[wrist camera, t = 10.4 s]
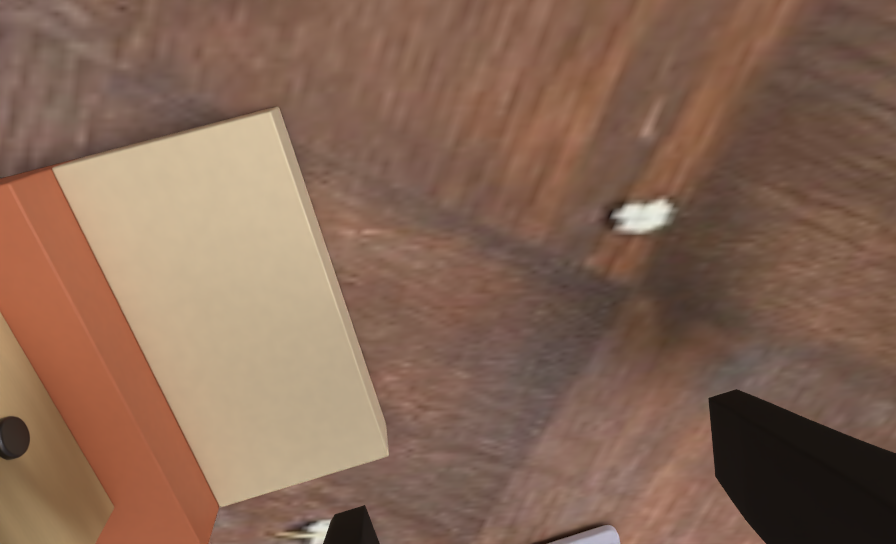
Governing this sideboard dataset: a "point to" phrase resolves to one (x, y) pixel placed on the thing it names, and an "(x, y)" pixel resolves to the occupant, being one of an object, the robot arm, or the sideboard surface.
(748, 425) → the robot arm
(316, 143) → the sideboard surface
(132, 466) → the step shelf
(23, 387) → the beige block with hole
